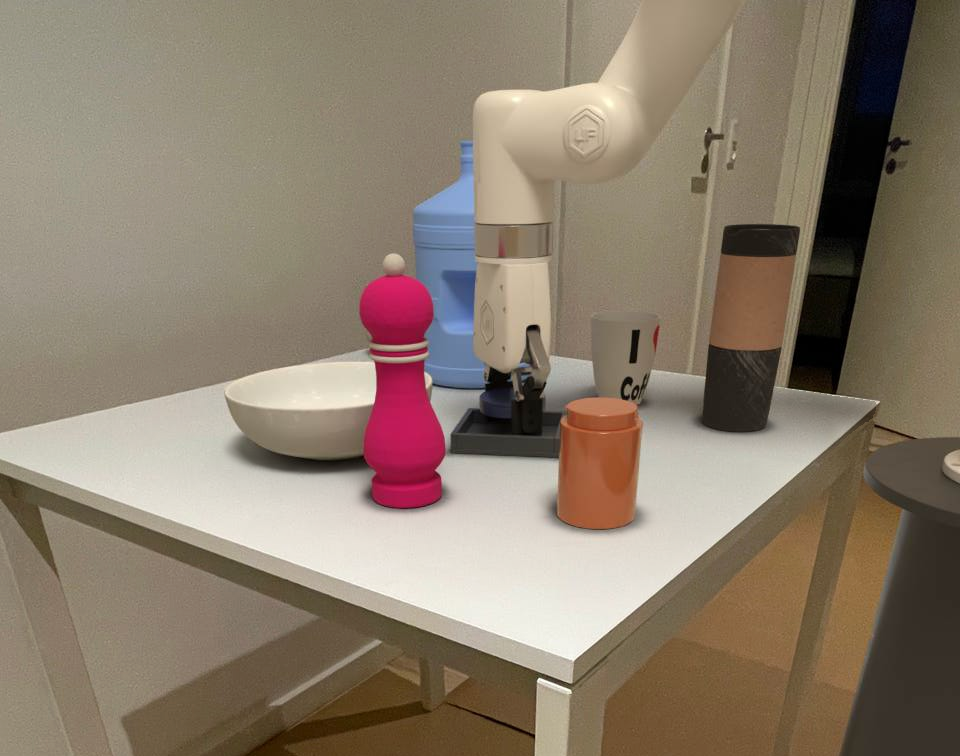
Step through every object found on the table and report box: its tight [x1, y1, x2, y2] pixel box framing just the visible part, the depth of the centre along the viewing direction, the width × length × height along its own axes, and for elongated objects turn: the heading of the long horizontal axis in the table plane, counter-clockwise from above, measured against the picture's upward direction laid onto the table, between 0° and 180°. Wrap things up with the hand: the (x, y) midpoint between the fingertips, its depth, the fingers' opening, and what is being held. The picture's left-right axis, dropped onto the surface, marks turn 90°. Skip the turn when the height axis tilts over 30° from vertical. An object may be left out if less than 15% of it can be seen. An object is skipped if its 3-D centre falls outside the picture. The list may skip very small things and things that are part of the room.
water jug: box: [412, 140, 531, 389], centre depth 109 cm, size 16×16×28 cm
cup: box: [590, 310, 662, 406], centre depth 101 cm, size 8×8×10 cm
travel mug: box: [701, 223, 801, 433], centre depth 90 cm, size 8×8×20 cm
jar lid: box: [479, 387, 547, 419], centre depth 88 cm, size 7×7×2 cm
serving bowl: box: [223, 361, 433, 461], centre depth 87 cm, size 21×21×7 cm
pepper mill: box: [358, 253, 447, 509], centre depth 71 cm, size 7×7×20 cm
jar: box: [556, 397, 644, 530], centre depth 69 cm, size 7×7×9 cm
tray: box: [450, 407, 567, 459], centre depth 90 cm, size 11×10×2 cm
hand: (512, 427), depth 89 cm, fingers closed on jar lid, 6 cm apart
